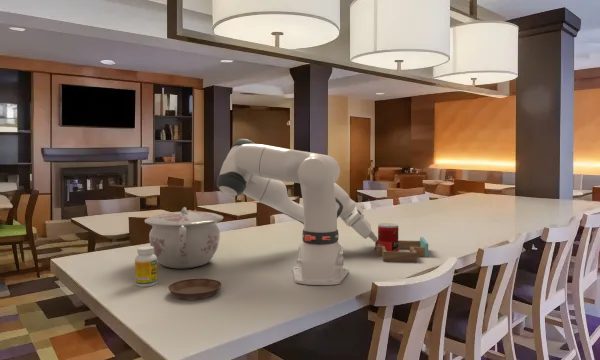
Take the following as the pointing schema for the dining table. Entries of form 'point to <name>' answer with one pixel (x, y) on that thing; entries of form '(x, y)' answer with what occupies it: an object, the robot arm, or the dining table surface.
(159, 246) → the chamber pot
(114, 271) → the dining table surface
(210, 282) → the saucer
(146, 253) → the supplement bottle
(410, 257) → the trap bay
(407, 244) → the brown wooden tray
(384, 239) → the canned food
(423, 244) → the end stop
